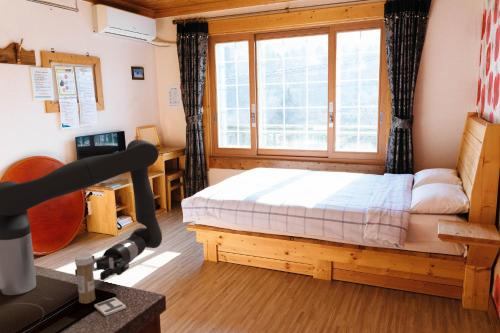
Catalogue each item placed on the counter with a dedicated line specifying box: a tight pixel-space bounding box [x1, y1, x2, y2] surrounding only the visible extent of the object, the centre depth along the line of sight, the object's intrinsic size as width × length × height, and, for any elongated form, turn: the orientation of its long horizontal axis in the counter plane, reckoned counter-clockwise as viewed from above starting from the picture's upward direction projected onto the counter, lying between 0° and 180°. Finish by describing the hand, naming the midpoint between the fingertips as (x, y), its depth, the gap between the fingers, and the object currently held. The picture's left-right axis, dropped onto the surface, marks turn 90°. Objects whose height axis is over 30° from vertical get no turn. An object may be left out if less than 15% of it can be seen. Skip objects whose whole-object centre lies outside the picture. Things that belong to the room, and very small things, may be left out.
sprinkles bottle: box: [74, 253, 96, 305], centre depth 114 cm, size 5×5×13 cm
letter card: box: [94, 296, 127, 317], centre depth 111 cm, size 7×6×1 cm
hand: (88, 275), depth 115 cm, fingers open, 8 cm apart
